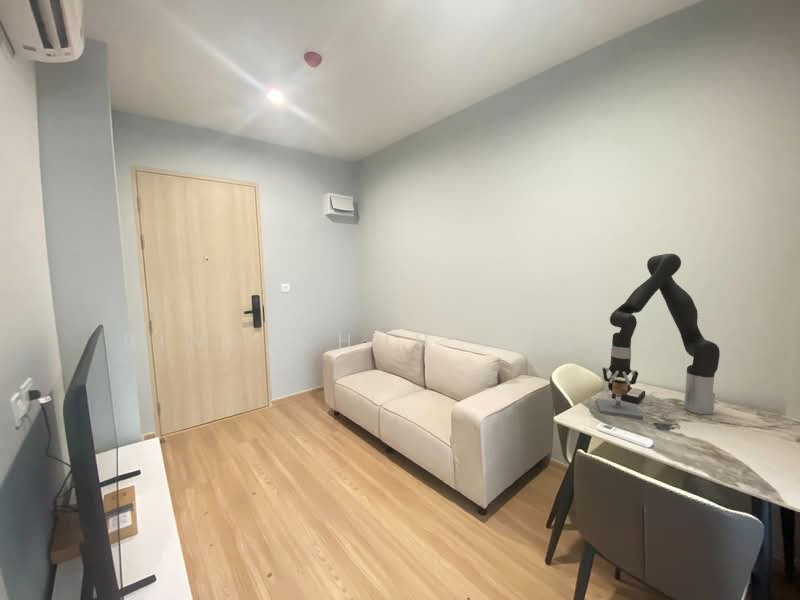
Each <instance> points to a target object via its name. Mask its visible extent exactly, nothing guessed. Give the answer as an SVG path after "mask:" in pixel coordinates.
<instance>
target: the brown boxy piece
mask: <svg viewBox="0 0 800 600" xmlns="http://www.w3.org/2000/svg"><path fill="white" fill-rule="evenodd" d="M627 391H628V384H627V383H626V381H625V379H624V380H622V379H616V378H615V379H614V380H613V382H612V391H611V394H612V393H613V394H620V395H627Z"/></svg>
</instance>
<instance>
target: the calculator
mask: <svg viewBox="0 0 800 600" xmlns="http://www.w3.org/2000/svg"><path fill="white" fill-rule="evenodd" d="M645 397H646V391H645V389H641V388H637V387H631V386H630V391H629V392H628V393H627V395H621V400H622V401H621V402H626V403H634V404H635V405H639V404H640V403H641V401H642V400H643V399H644V398H645ZM614 398H615V399H614ZM611 399H614V400H616V394H613V393H612V392H611Z"/></svg>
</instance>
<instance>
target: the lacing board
mask: <svg viewBox="0 0 800 600" xmlns="http://www.w3.org/2000/svg"><path fill="white" fill-rule="evenodd" d="M596 403H597V404H596ZM615 403H616V400H611V399H609V400H608V399H605V398H604V399H603V398H595V404H596V407H597V409H598V411H599V412H598V413H599V414H603V415H609V416H616V417H623V418H630V419H635V420H636V419H637V420H643V419H644V416H643V414H642V412H641V411H640V409H639V408H638V406H637V404H634V403H629V402H625V401H621V405H620V406H618V405H615Z"/></svg>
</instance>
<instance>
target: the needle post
mask: <svg viewBox="0 0 800 600" xmlns="http://www.w3.org/2000/svg"><path fill="white" fill-rule="evenodd" d="M615 401H616V403H615V405H618V406H620V405H621V402H622V401H621V395H620V394H616V399H615Z"/></svg>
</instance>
